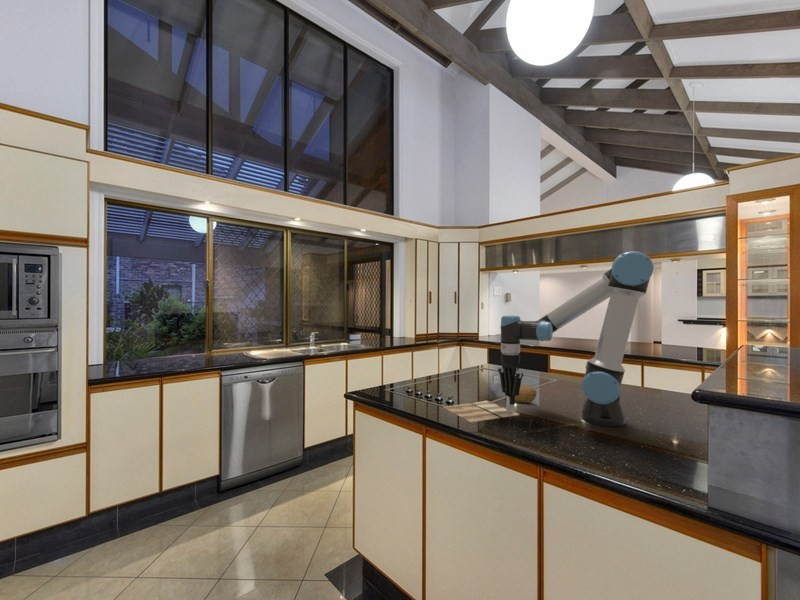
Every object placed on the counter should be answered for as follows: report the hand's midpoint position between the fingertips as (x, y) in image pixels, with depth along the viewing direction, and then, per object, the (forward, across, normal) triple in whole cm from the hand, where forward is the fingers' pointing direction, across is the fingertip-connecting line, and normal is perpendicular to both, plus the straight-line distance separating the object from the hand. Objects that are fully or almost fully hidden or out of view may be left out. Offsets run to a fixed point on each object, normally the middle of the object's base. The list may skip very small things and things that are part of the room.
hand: (510, 411), depth 150 cm
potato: (+2, -14, +17) cm, 22 cm away
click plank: (+2, -8, -2) cm, 8 cm away
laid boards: (+2, -8, -14) cm, 16 cm away
